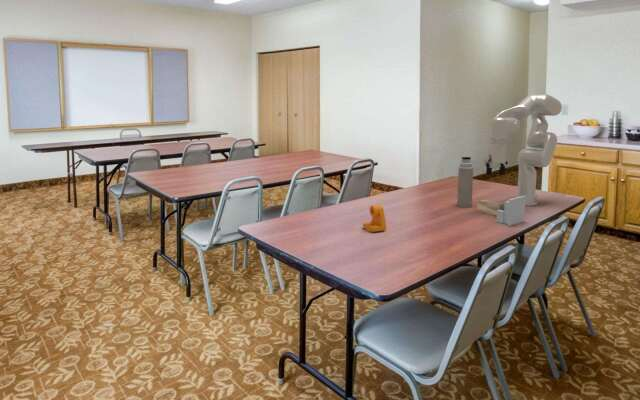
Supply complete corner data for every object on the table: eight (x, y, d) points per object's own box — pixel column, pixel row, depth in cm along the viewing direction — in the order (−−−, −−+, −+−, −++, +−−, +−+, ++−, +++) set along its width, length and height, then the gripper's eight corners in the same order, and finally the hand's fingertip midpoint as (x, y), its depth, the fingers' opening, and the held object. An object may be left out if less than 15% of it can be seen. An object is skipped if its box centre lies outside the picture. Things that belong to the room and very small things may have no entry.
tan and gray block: (482, 210, 275) (482, 199, 274) (509, 215, 262) (509, 204, 261) (477, 211, 272) (477, 200, 271) (504, 217, 259) (504, 205, 258)
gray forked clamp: (494, 222, 249) (495, 197, 246) (509, 218, 257) (510, 193, 254) (509, 226, 243) (511, 199, 240) (524, 221, 251) (525, 196, 248)
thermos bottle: (470, 204, 289) (473, 156, 283) (472, 207, 281) (474, 158, 275) (456, 204, 291) (458, 156, 285) (457, 207, 283) (459, 158, 277)
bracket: (362, 228, 245) (362, 204, 242) (375, 226, 247) (375, 202, 245) (372, 233, 235) (373, 208, 232) (386, 231, 238) (386, 207, 235)
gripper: (504, 141, 268) (501, 172, 271) (480, 141, 260) (478, 174, 263) (515, 142, 261) (512, 174, 264) (491, 142, 253) (488, 176, 256)
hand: (495, 174), depth 264 cm, fingers open, 9 cm apart
